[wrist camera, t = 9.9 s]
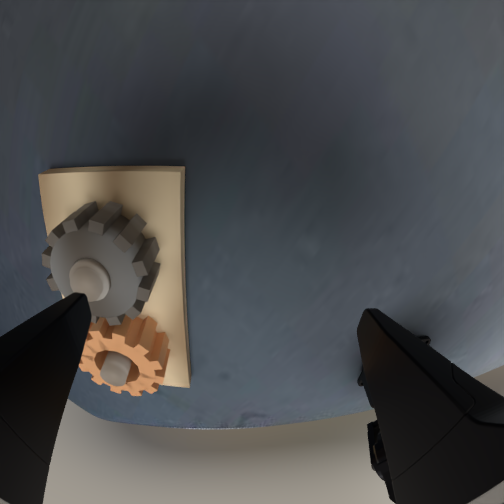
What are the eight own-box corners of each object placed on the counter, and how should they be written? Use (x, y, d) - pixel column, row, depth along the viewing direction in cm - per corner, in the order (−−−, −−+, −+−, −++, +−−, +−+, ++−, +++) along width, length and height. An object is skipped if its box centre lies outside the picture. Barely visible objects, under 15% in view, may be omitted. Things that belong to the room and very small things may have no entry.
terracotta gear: (165, 309, 21) (157, 338, 18) (173, 373, 24) (168, 400, 21) (77, 299, 20) (61, 324, 17) (97, 362, 23) (88, 387, 21)
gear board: (185, 166, 18) (164, 192, 13) (191, 375, 26) (185, 423, 21) (49, 169, 17) (1, 194, 12) (94, 362, 26) (78, 405, 21)
